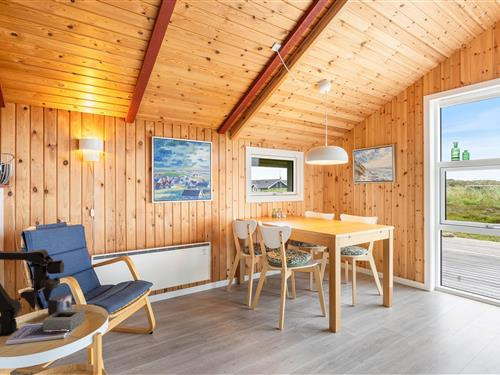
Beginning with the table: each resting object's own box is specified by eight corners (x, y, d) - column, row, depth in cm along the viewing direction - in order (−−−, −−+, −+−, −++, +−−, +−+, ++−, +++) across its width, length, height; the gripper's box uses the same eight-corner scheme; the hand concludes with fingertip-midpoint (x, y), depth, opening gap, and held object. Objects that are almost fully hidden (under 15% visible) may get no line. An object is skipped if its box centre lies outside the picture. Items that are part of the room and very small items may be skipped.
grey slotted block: (42, 332, 143) (42, 320, 143) (59, 321, 155) (59, 310, 155) (70, 331, 142) (70, 319, 142) (84, 320, 154) (84, 309, 154)
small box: (57, 319, 157) (56, 300, 157) (47, 318, 158) (46, 299, 158) (72, 311, 167) (72, 293, 167) (63, 310, 168) (62, 292, 169)
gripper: (42, 280, 137) (42, 312, 137) (67, 269, 156) (67, 297, 156) (19, 280, 138) (19, 313, 137) (47, 269, 156) (47, 298, 156)
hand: (40, 305), depth 147 cm, fingers open, 9 cm apart
